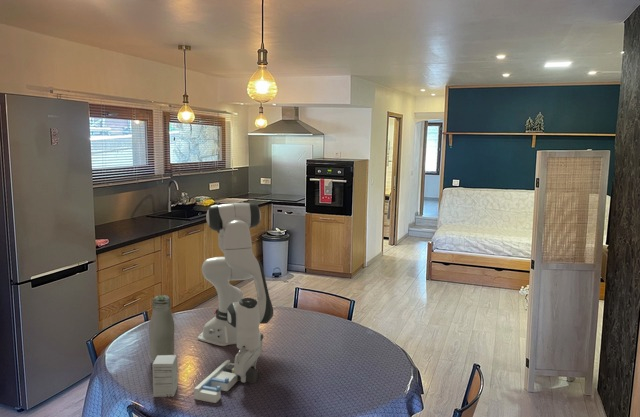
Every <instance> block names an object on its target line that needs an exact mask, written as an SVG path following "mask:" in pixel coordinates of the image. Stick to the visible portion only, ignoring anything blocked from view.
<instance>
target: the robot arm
mask: <svg viewBox="0 0 640 417" xmlns="http://www.w3.org/2000/svg"><path fill="white" fill-rule="evenodd" d="M205 219H206V223H207V225H208V228H210V229H211V230H212V231H215V232H217V234H218V237H217V238H218V242H217V244H218V248H219V250H220V251H221V252H222V253H223V256H214V257H210V258H206V259H205V260H204V261H203V262H202V264H201V274H202V276H203V278H204V279H205V280H206V281H208V282H209V283H210V284H212V285H213V286H214V288H215V290H216V293H217V297H218V308H217V309H215V311H214V312H213V314H214V315H215V316H214V317H213V318H211V319H210V320H208V321H207V322H206V323H205V324H204V326H203V330H202V332H201V333H200V334H198V336H197V340H198V341H200V342H206V343H209V344H212V345H217V346H220V347H225V346H228V345H236V348H237V349H239V350H238V352H237V353H236V354H235V357H234V362H233V363H234V374H235V375H239V376H240V377H241V381H240V382H241V383H247V382H246V380H247V376H246V375H245V374H246V372H247V370H248V369H249V368H254V369H257V368H256V366H257V362H258V358H259V357H260V356H261V355H262V351H263V339H264V333H262V332H260V325H262V324H263V325H264V324H265V325H266V324H268V323H269V322H270V321H271V320H272V318H273V316H274V308H273V304H272V301H271V300H272V299H271V297H270V294H269V289H268V284H267V281H266V276H265V271H264V267H263V265H262V263H261V260H260V259H258V258H256V256H255V254H254V251H253V245H252V235H251V231H250V229H252V228H255V227H258V225H259V224H260V221H261V219H262V213H261V209H260V207H259V205H258V204H257V203H255V202H254V203H253V202H231V203H221V204H214V205H210V206H208V209H207V212H206V218H205ZM250 279H253V282H254V287H255V290H256V295H257V298H256V299H254V298H252V297H244V293H243V291H242V290H241V289H240V288H238V287H237V286H234V285H232V284H231V283H230V282H231V281H244V280H250Z"/></svg>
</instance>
